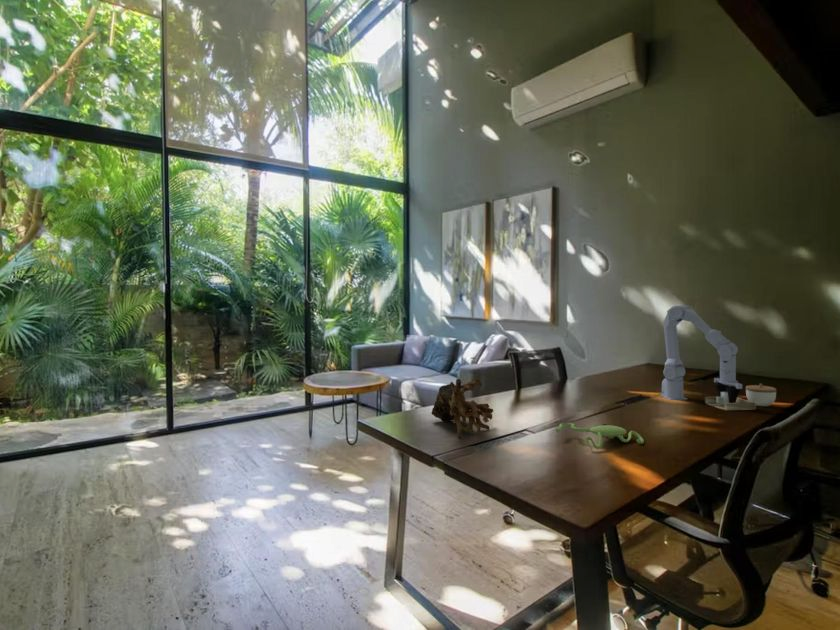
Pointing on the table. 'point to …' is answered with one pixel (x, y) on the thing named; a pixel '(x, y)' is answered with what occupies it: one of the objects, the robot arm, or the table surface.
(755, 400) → the lidded jar
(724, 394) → the jug
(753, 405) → the beige shallow tray
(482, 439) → the table surface
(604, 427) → the figurine
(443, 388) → the decorative coral sculpture
